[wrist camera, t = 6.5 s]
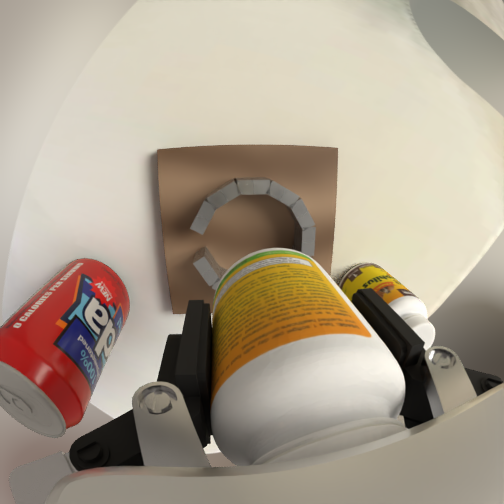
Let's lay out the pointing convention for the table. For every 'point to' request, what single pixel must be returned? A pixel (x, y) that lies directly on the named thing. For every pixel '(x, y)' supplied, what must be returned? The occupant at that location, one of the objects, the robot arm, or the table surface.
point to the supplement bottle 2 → (390, 297)
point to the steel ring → (251, 186)
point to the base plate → (240, 207)
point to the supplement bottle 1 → (295, 364)
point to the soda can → (61, 346)
